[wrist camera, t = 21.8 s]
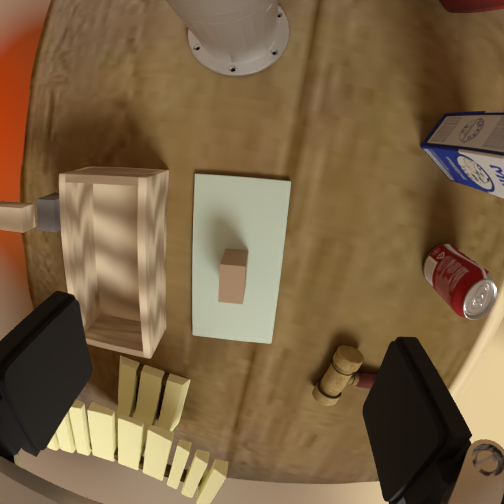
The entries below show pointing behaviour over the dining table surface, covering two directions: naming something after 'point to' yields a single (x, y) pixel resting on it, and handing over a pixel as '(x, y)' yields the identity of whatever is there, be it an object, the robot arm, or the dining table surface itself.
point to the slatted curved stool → (142, 431)
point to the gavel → (342, 376)
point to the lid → (237, 255)
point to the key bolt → (16, 216)
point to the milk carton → (470, 149)
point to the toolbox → (114, 252)
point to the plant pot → (472, 5)
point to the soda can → (460, 281)
